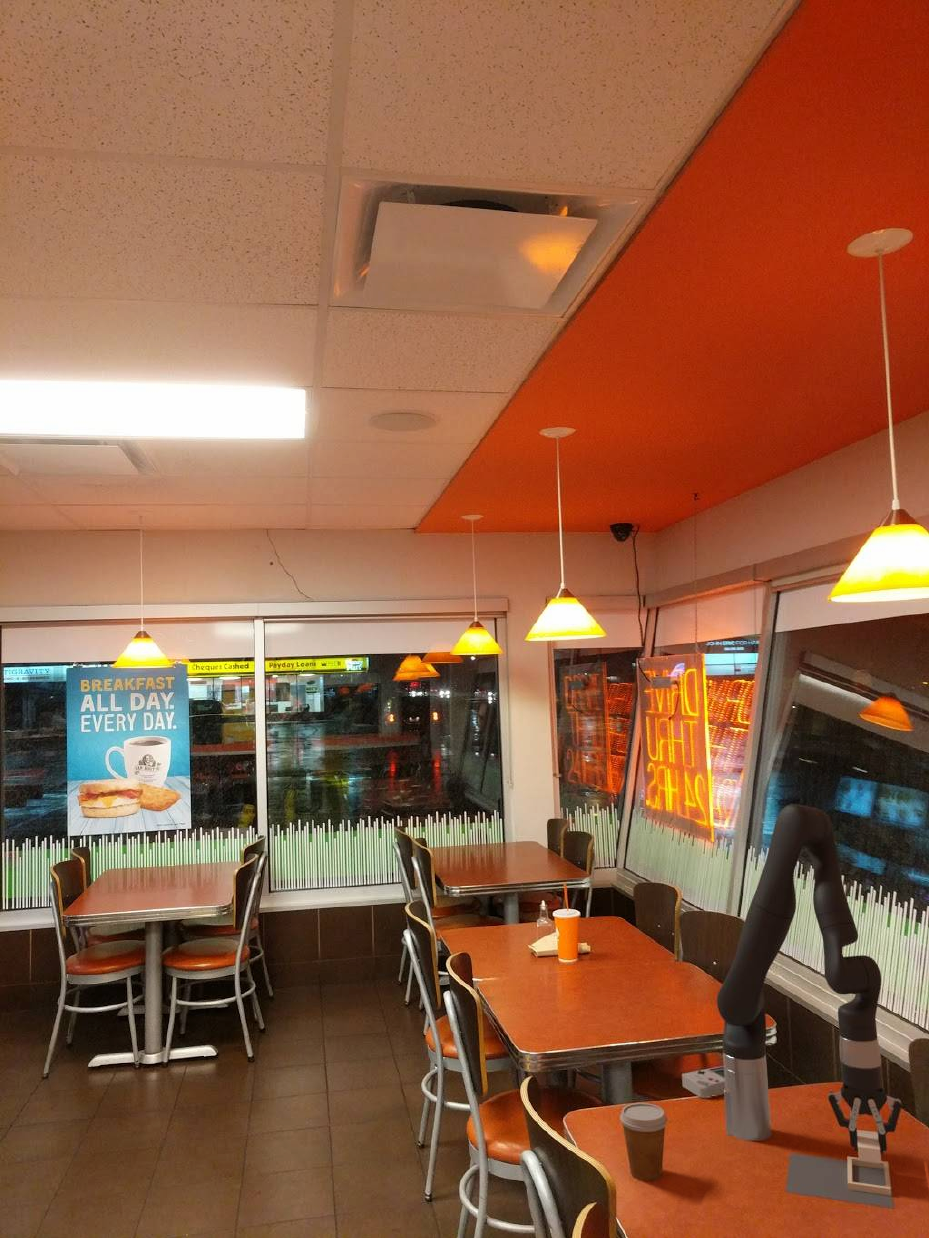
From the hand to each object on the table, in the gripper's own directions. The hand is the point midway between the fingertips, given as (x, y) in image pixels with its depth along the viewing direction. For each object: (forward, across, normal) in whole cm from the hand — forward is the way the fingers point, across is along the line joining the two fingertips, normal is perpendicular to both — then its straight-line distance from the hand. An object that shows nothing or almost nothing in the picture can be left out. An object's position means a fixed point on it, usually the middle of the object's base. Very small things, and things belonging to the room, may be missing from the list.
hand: (868, 1150), depth 180 cm
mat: (+6, +6, +2) cm, 9 cm away
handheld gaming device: (+6, +34, -39) cm, 52 cm away
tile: (0, 0, 0) cm, 0 cm away
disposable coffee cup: (+6, +43, +10) cm, 44 cm away
